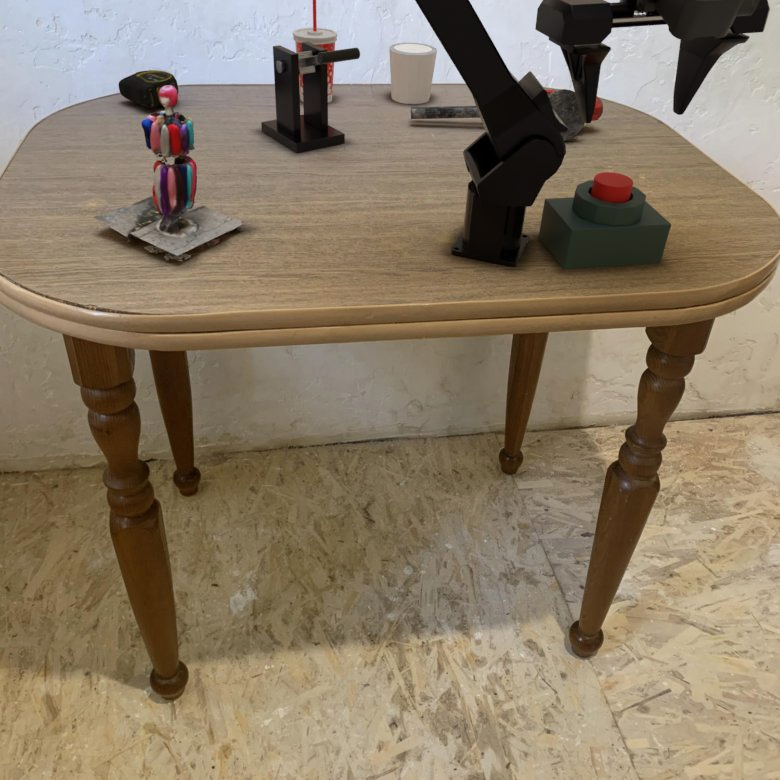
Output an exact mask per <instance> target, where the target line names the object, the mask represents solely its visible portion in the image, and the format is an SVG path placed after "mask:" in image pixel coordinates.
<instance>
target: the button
mask: <svg viewBox="0 0 780 780" xmlns="http://www.w3.org/2000/svg"><path fill="white" fill-rule="evenodd" d="M593 180H594V181H593ZM593 180H592V181H593V186H592V191H591V196H592V197H594V198H596V199H599V200H601V201H606V202H613V203H621V202H628V201H629V199H630V195H631V190H632V186H633V187H634V180H633V179H632V178H631V177H629V176H628V175H626V174H622V173H617V172H611V171H607V172H605V171H604V172H599V173H597V174H595V175H594V177H593Z"/></svg>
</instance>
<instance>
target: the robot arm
mask: <svg viewBox="0 0 780 780" xmlns="http://www.w3.org/2000/svg"><path fill="white" fill-rule="evenodd" d="M414 1H415V3H416V4H417V6H418V7H419V10H420V11H421V13H422V14H423V16H424V18H425V19H426V21H427V23H428V24H429V26H430V27H431V30H432V31H433V32H434V34H435V36H436V37H437V39H438V40H439V42H440V44H441V45H442V48H443V49H444V51H445V52H446V54H447V56H448V58H449V59H450V60H451V62H452V63H453V64H454V67H455V68H456V70H457V72H458V73H459V75H460V77H461V78H462V80H463V82H464V83H465V85H466V86H467V88H468V90H469V92H470V93H471V95H472V98H473V101H474V104H475V106H476V107H477V110H478V113H479V116H480V118H479V119H480V121H481V124H482V125H483V129H484V132H483V133H482V134H480V135H479V136H478V137H477V138H476V139H475V140H474V141H473V142H472V143H471V144H469V145H468V146H467V147H466V148H465V149H464V150H463V151H462V155H463V159H464V162H465V166H466V170H467V172H468V173H469V175H470V177H471V180H470V181H469V182H468V184H467V192H466V199H465V200H466V202H465V210H464V219H463V230H462V232H461V233H460V234H459V236H458V238H457V239H456V241H455V242H454V243H453V245H452V246H451V248H450V253H451V254H452V255H455V256H460V257H464V258H468V259H472V260H473V259H474V260H477V261H478V260H479V261H484V262H488V263H493V264H499V265H503V266H508V267H516V266H517V265H518V263H519V261H520V259H521V257H522V256H523V254H524V251H525V249H526V247H527V246H528V243H529V241H530V235H529V234H526V233H523V232H524V231H523V229H524V224H525V217H526V212H527V207H528V208H529V207H532V206H534V203H535V202H536V200H537V198H538V196H539V194H540V193H541V190H542V188H543V187H544V185H545V183H546V181H549V179H551V178H552V177H553V176H554V175H555V174H556V173H557V172H558V170H559V169H560V167H561V166H562V165H563V161H564V159H565V156H566V155H567V145H566V142H565V141H564V139H563V137H562V135H561V134H560V132H566V131H567V130H568V128H567V127H566V125H565V124H564V123H563V122H562V120H561V119H560V118H559V116H558V115H557V114H556V112H555V111H554V110H553V108H552V105H551V102H550V99H549V97H548V94H547V92H546V90H547V89H546V88H545V87H544V86H543V85H542V83H541V82H540V81H539V79H538V78H537V77H536V76H535V74H534V73H533V72H532V71H528V72H526V74H525V75H524V76H523V77H521V78H520V80H518V79H517V77H516V76H515V75H514V74H513V73H512V72H511V71H510V70H509V68H508V67H507V64H506V63H505V61H504V59H503V58H502V56H501V53H499V50H498V49H497V47H496V45H495V43H494V42H493V40H492V38H491V36H490V35H489V33H488V31H487V29H486V28H485V26H484V24H483V22H482V20H481V19H480V17H479V15H478V14H477V11H476V10H475V8H474V6H473V5H472V3H471V1H470V0H414ZM769 15H770V5H769V0H619V1H618V2H609V1H606V0H542V1H541V2H540V4H539V6H538V7H537V12H536V18H535V19H536V20H535V31H537V32H539V33H541V34H542V35H544V36H546V37H548V41H549V42H551V43H553V44H555V45H557V46H558V47H559V48H560V50H561V52H562V53H561V54H562V55H563V58H564V61H565V64H566V66H567V69H568V71H569V75H570V80H571V83H572V87H573V92H575V95H576V99H577V103H578V107H579V111H580V115H581V118H582V121H584V122H585V124H591V123H592V122H593V121H592V117H593V114H594V110H595V105H596V97H598V96H597V95H598V90H599V82H600V74H601V68H602V63H603V62H604V60H605V59H606V58H607V56H608V55H609V53H610V51H611V50H612V47H611V46H609V45H607V44H606V43H605V44H604V43H603V42H604V40H606V39H607V38H608V36H609V35H610V34H611V33H612V29H617V28H618V29H620V28H634V27H648V26H662V25H663V26H665V25H667V28H668V32H669V33H670V34H671V36H673V37H674V38H676V39H678V40H680V41H679V48H678V49H679V50H678V55H677V56H678V58H677V65H676V73H675V79H674V87H673V100H672V104H673V105H672V112H673V113H674V114H676V115H678V116H680V115H683V114H684V113H685V112H686V110H687V109H688V107H689V105H690V104H691V102H692V100H693V99H694V97H695V96H696V94H697V93H698V91H699V89H700V88H701V86H702V85H703V82H705V79H706V78H707V77H708V74H709V73H710V72H711V70H712V69H713V67H714V66H715V64H716V63H717V62H718V61H719V59H720V58H721V57H722V55H724V54H725V53H727V52H728V51H730V50H731V49H733V48H734V47H736V46H738V45H740V44H745V43H746V42H748V41H749V39H750V35H748V34H755V33H756V34H757V33H764V32H765V29H766V25H767V22H768V18H769ZM545 89H546V90H545Z"/></svg>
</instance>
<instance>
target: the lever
mask: <svg viewBox="0 0 780 780" xmlns="http://www.w3.org/2000/svg"><path fill="white" fill-rule="evenodd" d="M360 57H361V52H360V49H359V47H350V48H343V49H335V51H328V52H321V53H318V55H316V56H313V54H312V51H306V52H299V53H298V58H299V75H301V74H307V73H313V72H316V71H315V65H321V64H327V63H334V64H335V63H339V62H346V61H352V60H354V61H355V60H359V59H360Z"/></svg>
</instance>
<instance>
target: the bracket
mask: <svg viewBox="0 0 780 780" xmlns="http://www.w3.org/2000/svg"><path fill="white" fill-rule="evenodd" d="M306 51H312V54H313V56H316V55H318V53H321V52H327V50H326V49H324V48H322V47H320V46H317V45H315V44H313V43H310V42H302V52H306ZM272 56H273V57H272V58H273V75H274V77H273V78H274V95H275V96H274V97H275V117H276V118H275V119H271V120H266V121H265V120H264V121H261V123H260V125H261V126H260V127H261V132H262V133H263V134H265V135H267V136H268V137H270V138H272V139H273V140H275V141H277V142H278V143H279V144H281V145H283V146H285V147H286V148H288V149H289V150H291V151H293V152H294V153H296V154H301V153H306V152H309V151H314V150H319V149H323V148H328V147H333V146H338V145H342V144H345V143H346V141H345V139H346V136H345V135H346V134H345V133H343V132H342V131H340V130H339V129H337V128H334V127H333V126H331V125H330V124H329V103H328V70H327V64H321V65H315V71H316V72H313V73H307V74H303V102H302V104H303V105H302V106H303V114H301V99H300V89H299V58H298V53H296V51H293V50H291V49H290V48H287V47H284V46H283V45H273V46H272Z"/></svg>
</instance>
